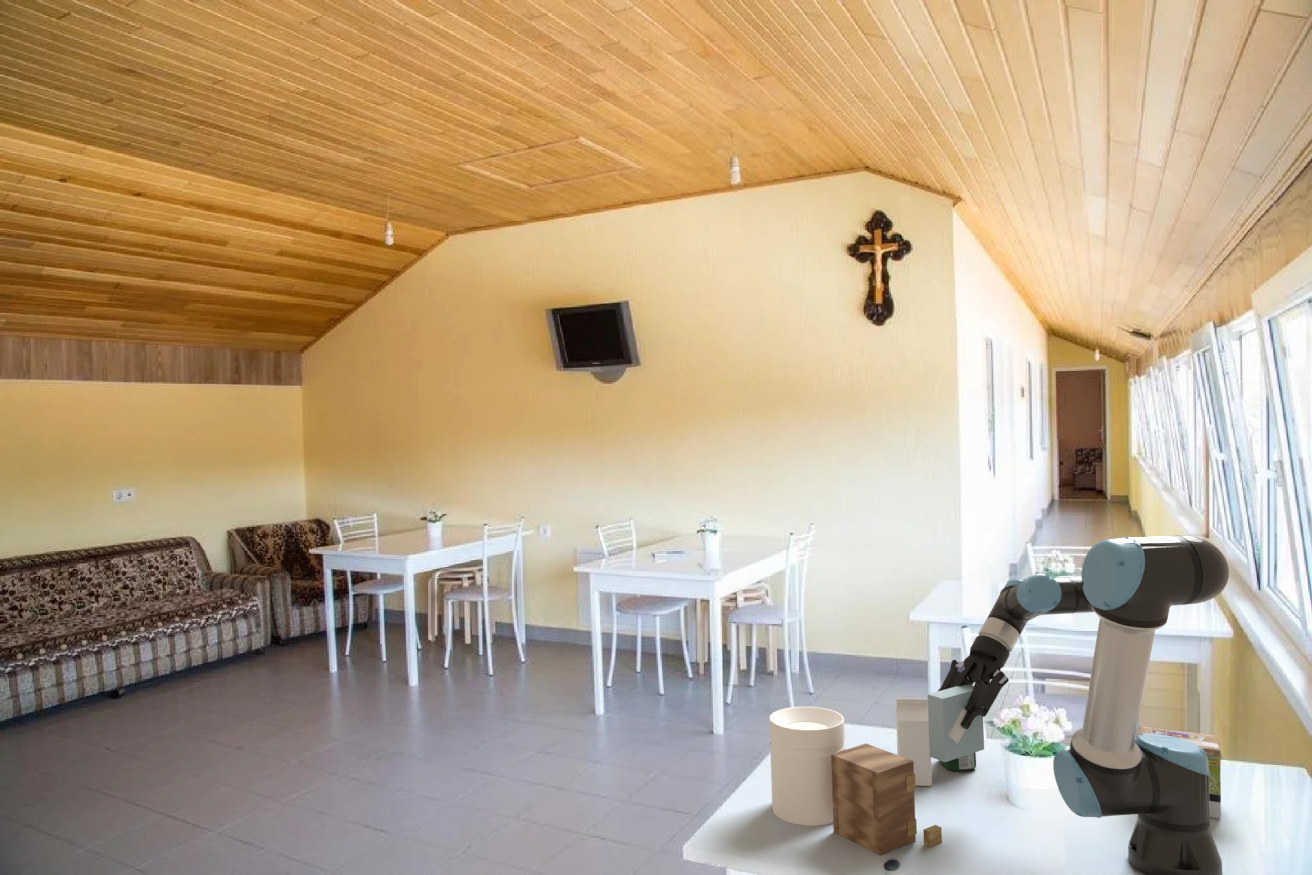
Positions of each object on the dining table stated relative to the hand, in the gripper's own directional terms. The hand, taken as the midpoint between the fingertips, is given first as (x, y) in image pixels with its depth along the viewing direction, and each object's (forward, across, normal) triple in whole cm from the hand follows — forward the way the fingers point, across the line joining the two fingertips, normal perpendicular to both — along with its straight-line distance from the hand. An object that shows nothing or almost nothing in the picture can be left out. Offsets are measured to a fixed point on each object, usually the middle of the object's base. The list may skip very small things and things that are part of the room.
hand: (943, 736), depth 191 cm
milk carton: (+4, +20, -21) cm, 29 cm away
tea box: (-19, -22, -46) cm, 54 cm away
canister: (+26, +22, 0) cm, 34 cm away
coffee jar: (-6, +20, -32) cm, 38 cm away
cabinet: (+23, +3, -3) cm, 23 cm away
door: (0, 0, -6) cm, 6 cm away
